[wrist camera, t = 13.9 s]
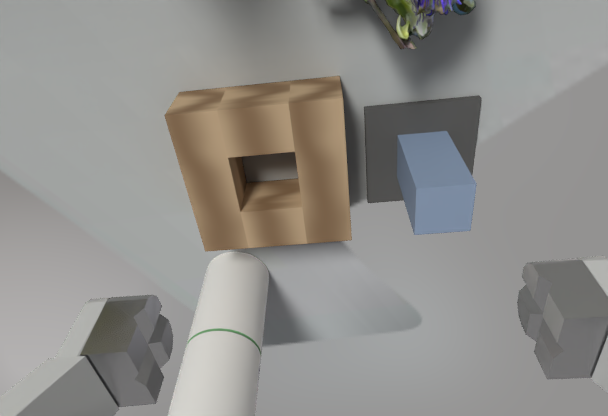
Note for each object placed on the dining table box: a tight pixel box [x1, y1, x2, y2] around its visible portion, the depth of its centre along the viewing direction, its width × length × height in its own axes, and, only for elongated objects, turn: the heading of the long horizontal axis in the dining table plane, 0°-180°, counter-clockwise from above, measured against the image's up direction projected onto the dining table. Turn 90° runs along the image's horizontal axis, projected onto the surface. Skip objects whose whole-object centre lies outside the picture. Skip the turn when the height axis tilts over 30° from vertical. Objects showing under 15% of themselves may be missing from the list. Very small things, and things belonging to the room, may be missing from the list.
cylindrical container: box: [168, 252, 269, 416], centre depth 42 cm, size 7×7×25 cm
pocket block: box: [165, 76, 352, 251], centre depth 42 cm, size 14×14×5 cm
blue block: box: [397, 131, 476, 235], centre depth 39 cm, size 4×4×9 cm
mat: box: [364, 96, 481, 203], centre depth 43 cm, size 10×10×1 cm
